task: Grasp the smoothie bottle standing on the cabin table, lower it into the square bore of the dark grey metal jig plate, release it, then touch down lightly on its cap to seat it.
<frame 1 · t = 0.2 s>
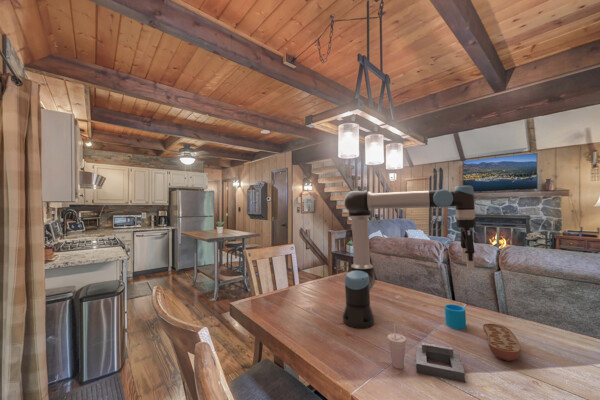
hand: (467, 264, 119), 28 cm above the table, fingers open, 13 cm apart
jig: (438, 367, 89), on the table
smoothie: (397, 365, 91), on the table
mug: (456, 324, 121), on the table
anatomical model: (501, 349, 99), on the table
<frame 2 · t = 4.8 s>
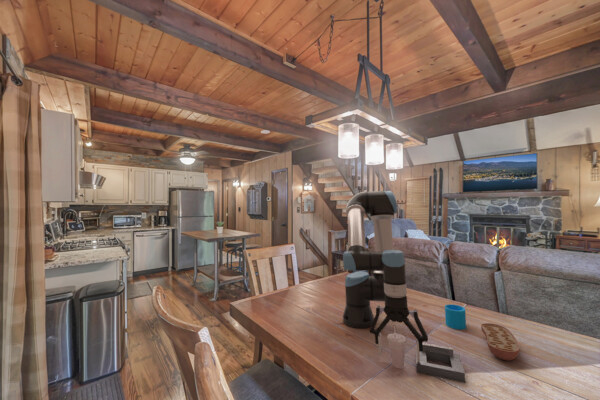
hand: (399, 356, 91), 3 cm above the table, fingers open, 12 cm apart
nothing on the table moved.
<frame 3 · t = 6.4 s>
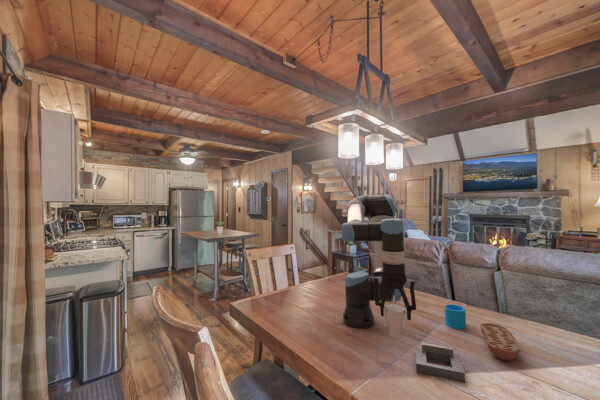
hand: (396, 326, 92), 13 cm above the table, fingers closed on smoothie, 6 cm apart
smoothie: (395, 335, 92), point 10 cm above the table, touching gripper
everything else where it was.
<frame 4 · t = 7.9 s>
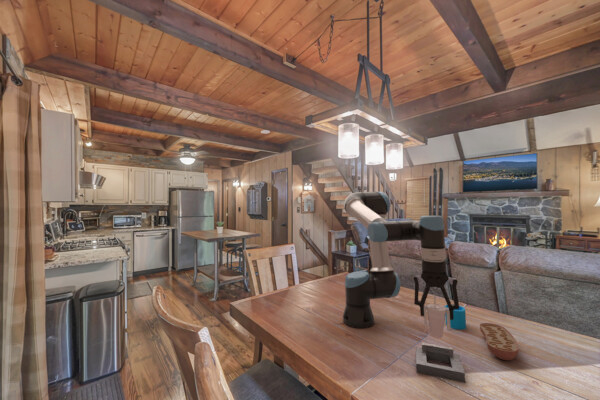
hand: (437, 326, 89), 14 cm above the table, fingers closed on smoothie, 6 cm apart
smoothie: (436, 336, 89), point 11 cm above the table, touching gripper
everything else where it was.
when the fingers open (4 cm above the table, at t = 10.0 s): smoothie drops 1 cm, resting in jig.
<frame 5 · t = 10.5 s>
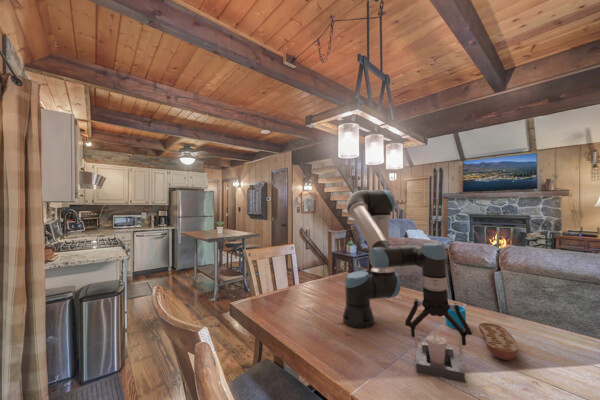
hand: (437, 350, 89), 6 cm above the table, fingers open, 13 cm apart
smoothie: (437, 368, 89), resting in jig
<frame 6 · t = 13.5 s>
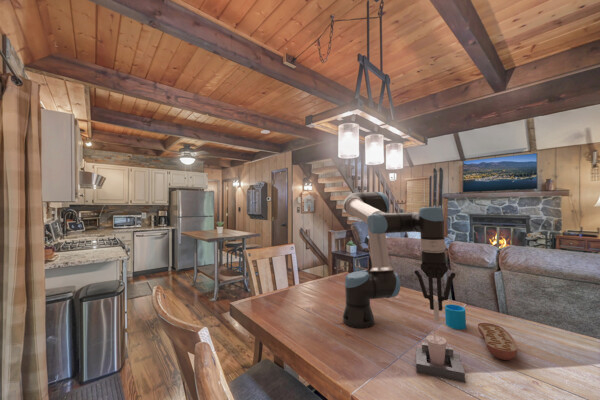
hand: (436, 319, 89), 17 cm above the table, fingers closed
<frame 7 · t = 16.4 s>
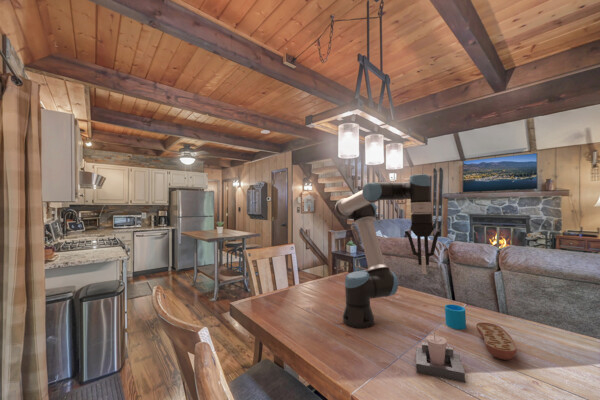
hand: (424, 273, 101), 29 cm above the table, fingers closed
at the end: smoothie 0.4 cm off-centre on the jig, point 0.0 cm above the jig's base; smoothie tilted 0°; the gripper is holding nothing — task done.
